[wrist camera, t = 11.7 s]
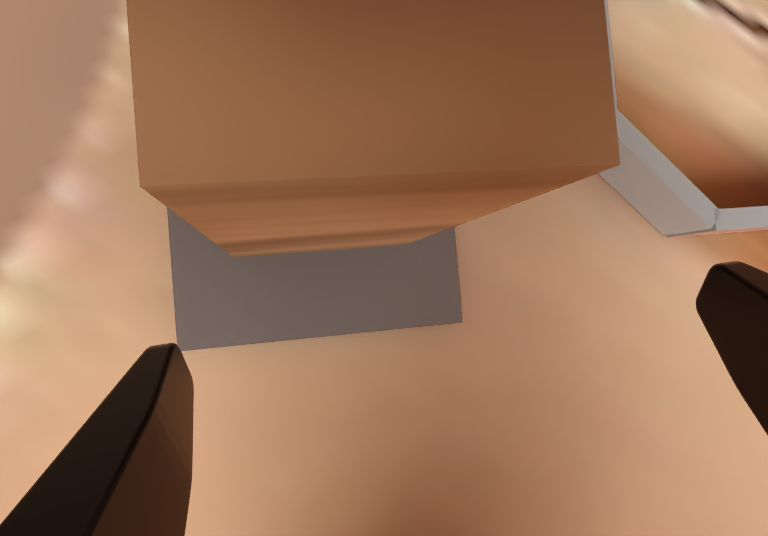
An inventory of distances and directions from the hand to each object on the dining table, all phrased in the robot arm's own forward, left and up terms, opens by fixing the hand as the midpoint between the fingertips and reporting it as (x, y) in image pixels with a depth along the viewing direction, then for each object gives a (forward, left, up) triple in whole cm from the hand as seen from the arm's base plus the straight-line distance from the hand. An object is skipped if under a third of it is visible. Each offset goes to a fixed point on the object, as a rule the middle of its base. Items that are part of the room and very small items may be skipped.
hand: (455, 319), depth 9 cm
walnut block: (+3, +4, -10) cm, 12 cm away
